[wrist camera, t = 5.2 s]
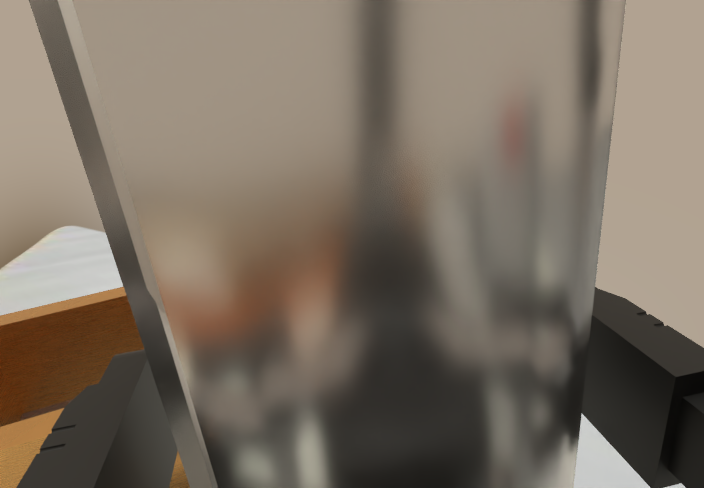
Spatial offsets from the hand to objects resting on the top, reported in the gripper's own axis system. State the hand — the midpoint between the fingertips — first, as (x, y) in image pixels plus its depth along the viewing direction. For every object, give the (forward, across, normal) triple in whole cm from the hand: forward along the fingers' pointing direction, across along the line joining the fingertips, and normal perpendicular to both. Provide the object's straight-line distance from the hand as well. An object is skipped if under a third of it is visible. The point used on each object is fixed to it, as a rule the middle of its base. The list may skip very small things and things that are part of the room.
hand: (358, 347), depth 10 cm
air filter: (-2, 0, +14) cm, 14 cm away
